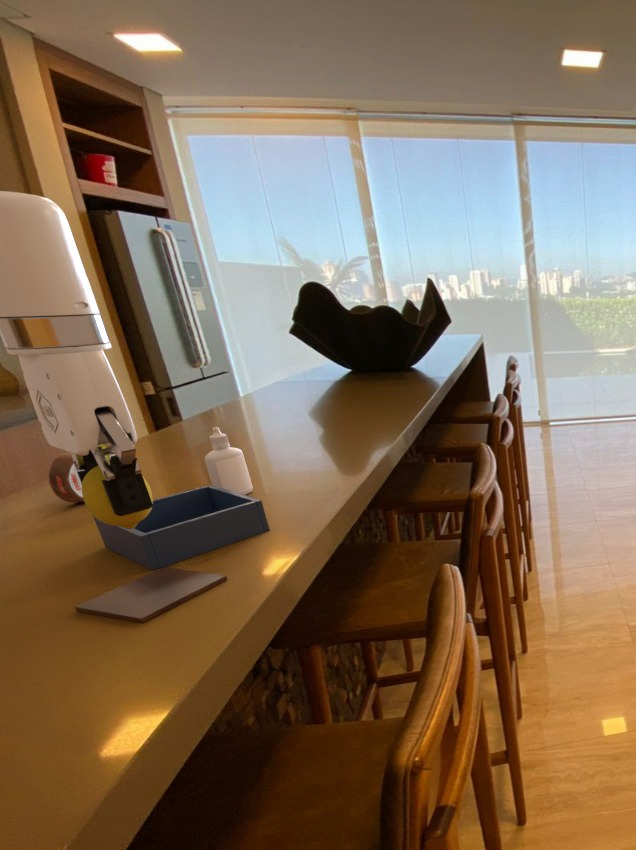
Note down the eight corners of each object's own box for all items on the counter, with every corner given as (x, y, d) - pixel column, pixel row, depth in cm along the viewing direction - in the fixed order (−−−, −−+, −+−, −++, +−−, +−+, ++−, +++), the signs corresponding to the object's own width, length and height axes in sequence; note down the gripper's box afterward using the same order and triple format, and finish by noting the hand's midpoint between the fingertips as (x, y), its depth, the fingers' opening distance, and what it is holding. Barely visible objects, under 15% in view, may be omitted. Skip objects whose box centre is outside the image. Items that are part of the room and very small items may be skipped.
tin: (125, 480, 107) (109, 437, 104) (143, 480, 107) (127, 436, 104) (58, 509, 93) (37, 460, 90) (78, 508, 93) (58, 459, 90)
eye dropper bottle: (257, 494, 99) (237, 426, 94) (218, 502, 95) (196, 432, 91) (251, 488, 102) (232, 422, 97) (214, 496, 98) (192, 428, 94)
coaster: (142, 623, 61) (140, 618, 60) (76, 611, 63) (74, 606, 63) (227, 579, 70) (226, 575, 69) (166, 570, 72) (164, 566, 72)
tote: (153, 570, 72) (140, 536, 70) (105, 547, 79) (92, 515, 77) (270, 530, 84) (261, 500, 82) (219, 512, 91) (210, 484, 89)
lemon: (152, 516, 67) (129, 450, 64) (169, 526, 64) (145, 458, 61) (91, 532, 63) (63, 463, 60) (107, 543, 60) (77, 471, 57)
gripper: (-26, 336, 56) (47, 504, 63) (36, 342, 48) (112, 534, 55) (72, 330, 62) (129, 485, 69) (141, 335, 54) (199, 509, 61)
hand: (121, 505), depth 62 cm, fingers closed on lemon, 5 cm apart
